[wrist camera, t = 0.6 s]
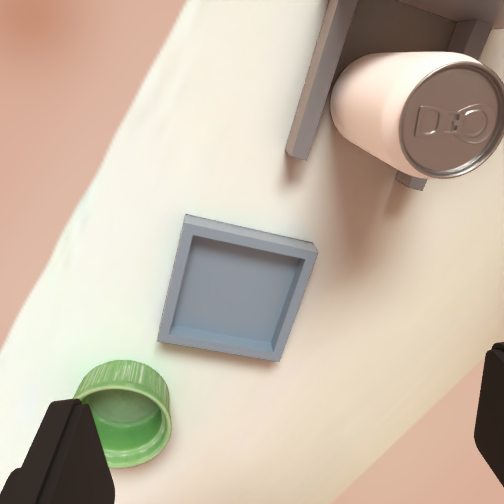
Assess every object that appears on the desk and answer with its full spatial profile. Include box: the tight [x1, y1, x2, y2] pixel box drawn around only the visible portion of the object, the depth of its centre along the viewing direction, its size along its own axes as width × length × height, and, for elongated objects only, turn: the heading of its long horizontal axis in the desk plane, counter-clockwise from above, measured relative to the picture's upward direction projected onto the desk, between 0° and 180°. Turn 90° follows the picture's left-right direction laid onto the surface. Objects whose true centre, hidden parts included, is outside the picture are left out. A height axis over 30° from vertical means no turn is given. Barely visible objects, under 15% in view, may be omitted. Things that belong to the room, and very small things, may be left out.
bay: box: [285, 0, 504, 191], centre depth 28 cm, size 12×16×9 cm
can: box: [330, 52, 504, 179], centre depth 28 cm, size 6×6×12 cm
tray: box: [157, 214, 318, 362], centre depth 37 cm, size 11×11×2 cm
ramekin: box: [73, 360, 171, 468], centre depth 40 cm, size 9×9×4 cm
